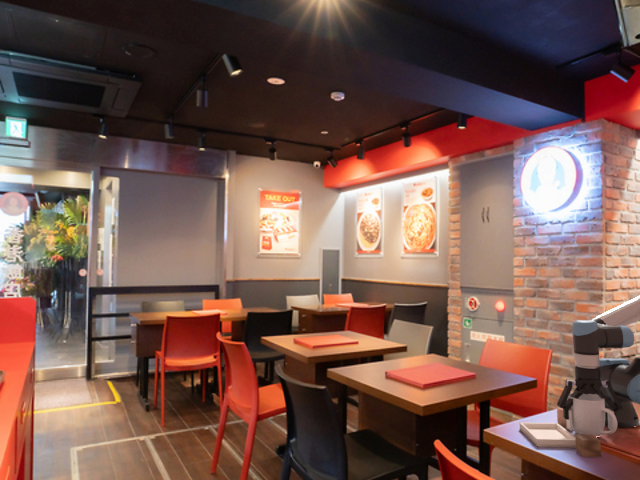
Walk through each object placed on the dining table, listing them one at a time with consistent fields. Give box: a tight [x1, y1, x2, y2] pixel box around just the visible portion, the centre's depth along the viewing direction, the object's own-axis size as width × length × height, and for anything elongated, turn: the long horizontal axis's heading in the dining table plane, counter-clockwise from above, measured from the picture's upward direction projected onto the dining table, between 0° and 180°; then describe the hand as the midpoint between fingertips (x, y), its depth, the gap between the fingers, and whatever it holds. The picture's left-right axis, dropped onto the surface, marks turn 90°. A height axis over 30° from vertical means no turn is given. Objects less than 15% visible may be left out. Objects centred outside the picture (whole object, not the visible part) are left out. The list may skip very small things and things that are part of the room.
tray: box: [519, 422, 576, 449], centre depth 150 cm, size 13×16×2 cm
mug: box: [568, 392, 618, 437], centre depth 151 cm, size 15×11×13 cm
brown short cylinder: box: [556, 406, 568, 429], centre depth 162 cm, size 5×5×6 cm
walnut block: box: [574, 433, 602, 458], centre depth 137 cm, size 5×5×5 cm
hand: (590, 429), depth 151 cm, fingers open, 13 cm apart
